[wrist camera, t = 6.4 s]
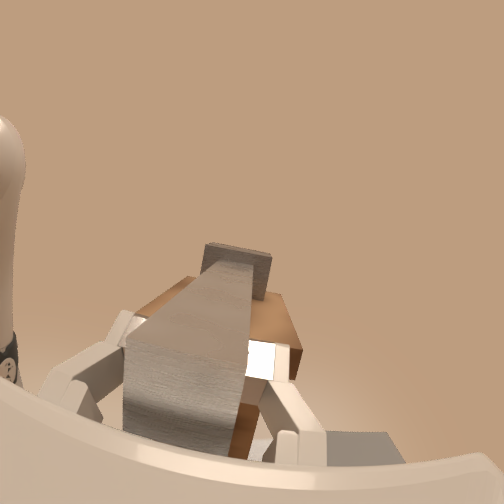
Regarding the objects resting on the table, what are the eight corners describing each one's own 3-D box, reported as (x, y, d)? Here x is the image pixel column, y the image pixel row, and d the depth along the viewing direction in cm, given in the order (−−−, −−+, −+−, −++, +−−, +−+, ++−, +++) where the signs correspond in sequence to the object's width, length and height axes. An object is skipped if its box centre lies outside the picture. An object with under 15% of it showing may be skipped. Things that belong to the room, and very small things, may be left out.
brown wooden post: (133, 542, 19) (132, 314, 17) (165, 458, 35) (187, 276, 33) (231, 563, 19) (303, 349, 17) (237, 472, 35) (280, 294, 33)
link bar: (77, 413, 7) (77, 283, 7) (206, 279, 33) (212, 242, 33) (281, 463, 7) (320, 336, 7) (262, 290, 33) (269, 253, 33)
